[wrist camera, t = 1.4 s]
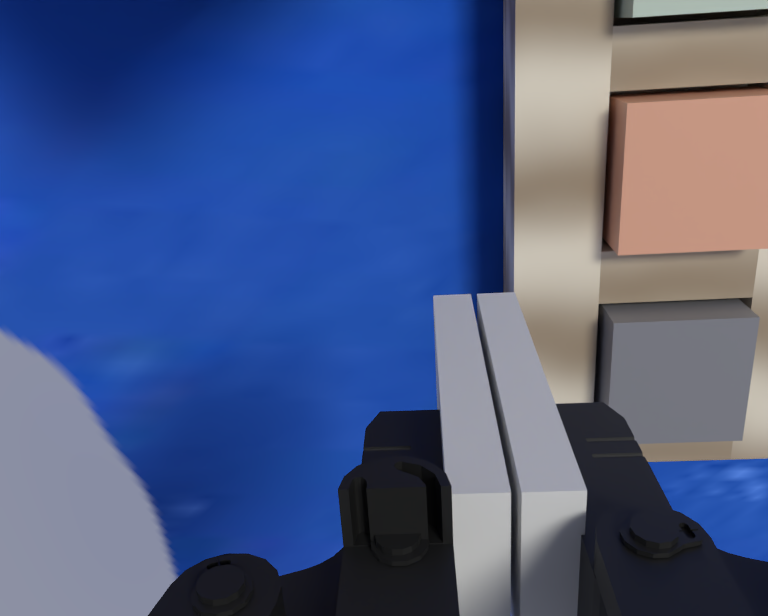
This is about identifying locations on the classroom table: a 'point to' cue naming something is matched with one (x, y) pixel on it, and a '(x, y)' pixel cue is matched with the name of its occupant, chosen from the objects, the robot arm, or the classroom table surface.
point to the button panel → (587, 184)
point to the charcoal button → (677, 367)
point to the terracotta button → (687, 171)
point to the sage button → (681, 7)
